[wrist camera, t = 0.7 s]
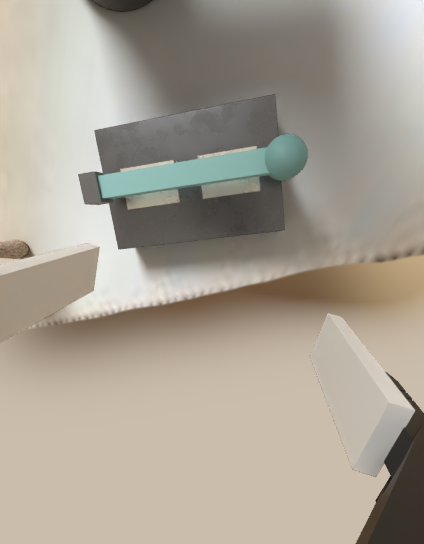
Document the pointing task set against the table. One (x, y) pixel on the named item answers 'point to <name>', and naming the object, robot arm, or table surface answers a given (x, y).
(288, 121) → the table surface
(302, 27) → the table surface
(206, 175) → the green knobbed rod
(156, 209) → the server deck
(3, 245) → the mushroom
